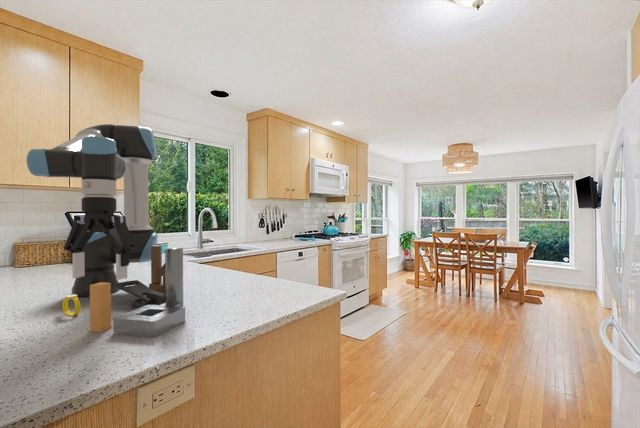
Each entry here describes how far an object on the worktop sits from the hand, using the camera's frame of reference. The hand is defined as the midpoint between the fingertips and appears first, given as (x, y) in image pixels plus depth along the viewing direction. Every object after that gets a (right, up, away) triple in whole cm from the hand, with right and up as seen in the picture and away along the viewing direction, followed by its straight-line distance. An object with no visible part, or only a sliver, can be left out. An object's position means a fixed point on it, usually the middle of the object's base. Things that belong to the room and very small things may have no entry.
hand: (99, 278), depth 83 cm
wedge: (0, -14, 0) cm, 14 cm away
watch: (-17, -14, +12) cm, 25 cm away
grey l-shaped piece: (+13, -13, +5) cm, 19 cm away
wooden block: (-2, -13, +37) cm, 39 cm away
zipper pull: (0, -14, +21) cm, 25 cm away
